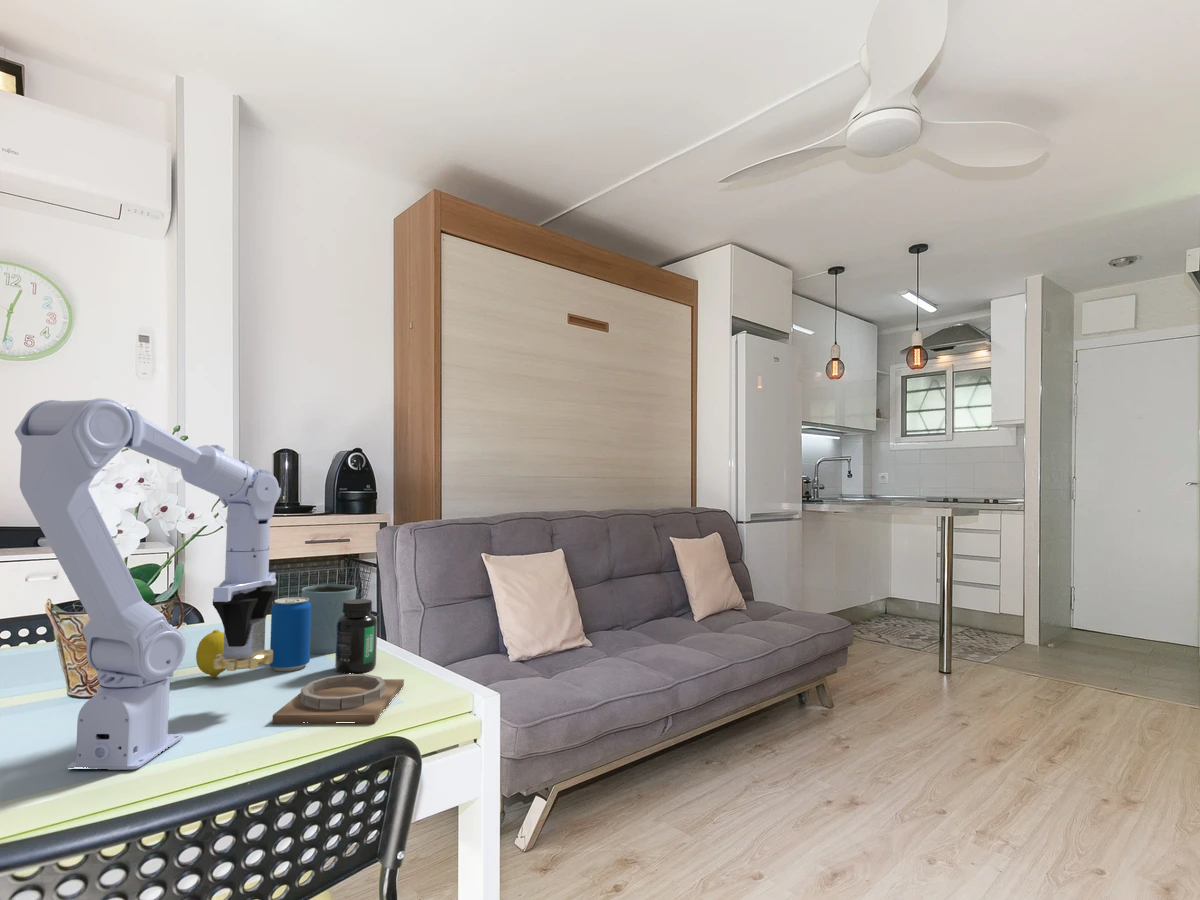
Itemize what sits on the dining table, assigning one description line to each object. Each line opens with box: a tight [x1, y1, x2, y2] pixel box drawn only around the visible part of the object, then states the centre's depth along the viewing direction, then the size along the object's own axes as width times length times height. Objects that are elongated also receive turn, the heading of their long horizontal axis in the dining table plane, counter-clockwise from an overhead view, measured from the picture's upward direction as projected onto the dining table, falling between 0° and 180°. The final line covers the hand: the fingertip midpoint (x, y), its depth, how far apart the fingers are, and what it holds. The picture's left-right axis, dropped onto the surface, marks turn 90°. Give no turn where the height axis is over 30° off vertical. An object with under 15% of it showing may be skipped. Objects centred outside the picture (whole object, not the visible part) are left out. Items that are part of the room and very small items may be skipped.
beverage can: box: [269, 596, 311, 672], centre depth 118 cm, size 6×6×12 cm
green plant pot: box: [301, 583, 357, 655], centre depth 131 cm, size 10×10×12 cm
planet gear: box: [214, 617, 273, 672], centre depth 97 cm, size 8×8×6 cm
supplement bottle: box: [334, 598, 378, 675], centre depth 117 cm, size 7×7×12 cm
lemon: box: [195, 629, 227, 678], centre depth 111 cm, size 6×6×8 cm
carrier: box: [271, 673, 405, 725], centre depth 99 cm, size 16×14×3 cm
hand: (244, 642), depth 97 cm, fingers closed on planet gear, 4 cm apart
